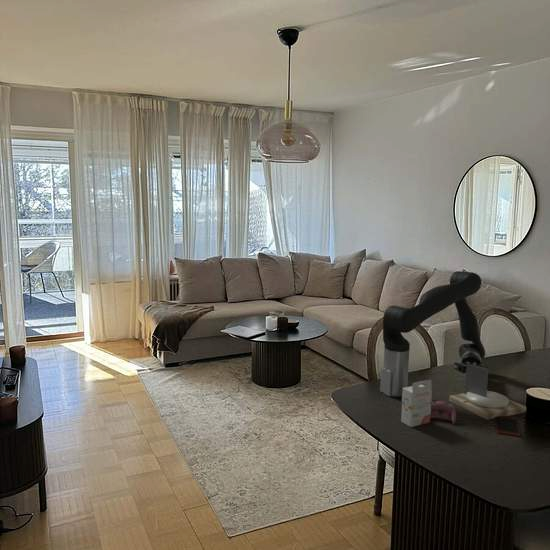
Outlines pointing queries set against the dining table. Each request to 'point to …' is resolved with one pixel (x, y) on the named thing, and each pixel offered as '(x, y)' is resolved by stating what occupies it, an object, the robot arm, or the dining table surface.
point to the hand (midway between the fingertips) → (470, 374)
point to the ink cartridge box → (417, 403)
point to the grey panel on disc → (482, 389)
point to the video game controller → (445, 407)
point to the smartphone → (507, 426)
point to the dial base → (486, 411)
